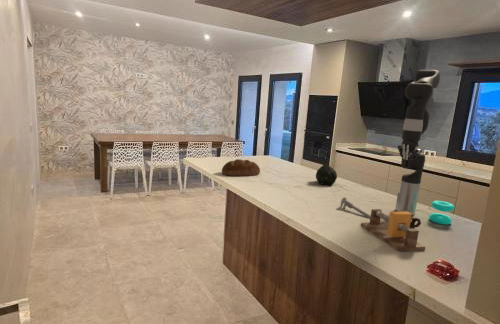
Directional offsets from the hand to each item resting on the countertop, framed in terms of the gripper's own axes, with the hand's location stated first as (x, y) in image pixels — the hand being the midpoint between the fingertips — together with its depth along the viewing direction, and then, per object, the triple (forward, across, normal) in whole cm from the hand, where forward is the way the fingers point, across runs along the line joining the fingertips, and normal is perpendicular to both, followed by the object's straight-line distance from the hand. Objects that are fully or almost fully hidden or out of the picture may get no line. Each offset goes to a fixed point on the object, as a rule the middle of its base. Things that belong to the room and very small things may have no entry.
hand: (405, 167), depth 143 cm
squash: (+29, +79, -4) cm, 84 cm away
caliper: (+30, +21, +8) cm, 37 cm away
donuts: (+29, +6, -31) cm, 43 cm away
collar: (+26, -13, +10) cm, 31 cm away
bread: (+30, +105, +52) cm, 121 cm away
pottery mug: (+29, 0, -5) cm, 30 cm away
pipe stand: (+29, -9, +10) cm, 32 cm away
